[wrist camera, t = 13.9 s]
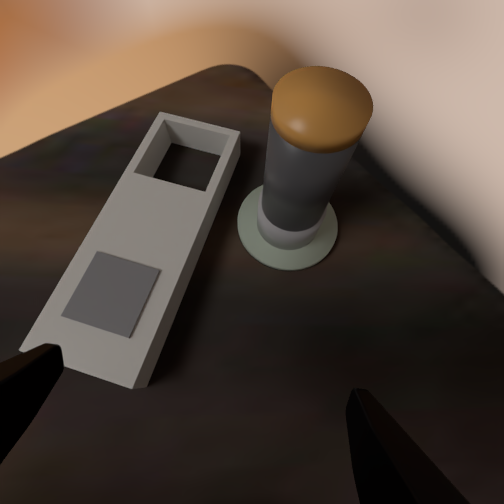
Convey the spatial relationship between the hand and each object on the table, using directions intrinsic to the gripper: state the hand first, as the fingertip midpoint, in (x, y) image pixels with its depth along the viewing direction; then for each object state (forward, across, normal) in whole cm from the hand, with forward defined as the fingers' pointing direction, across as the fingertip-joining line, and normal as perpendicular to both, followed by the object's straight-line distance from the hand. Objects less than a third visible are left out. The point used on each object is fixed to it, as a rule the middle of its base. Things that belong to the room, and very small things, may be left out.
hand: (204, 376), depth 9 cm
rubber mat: (+19, -3, 0) cm, 19 cm away
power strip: (+17, +8, +2) cm, 19 cm away
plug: (+18, -3, 0) cm, 19 cm away
